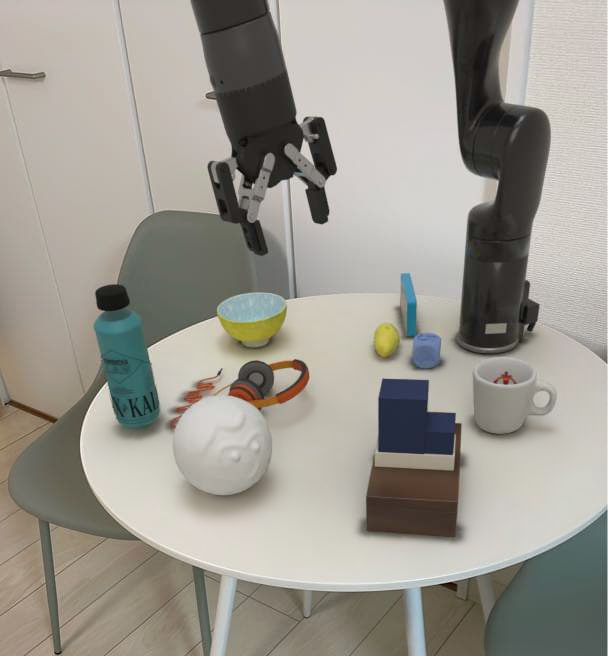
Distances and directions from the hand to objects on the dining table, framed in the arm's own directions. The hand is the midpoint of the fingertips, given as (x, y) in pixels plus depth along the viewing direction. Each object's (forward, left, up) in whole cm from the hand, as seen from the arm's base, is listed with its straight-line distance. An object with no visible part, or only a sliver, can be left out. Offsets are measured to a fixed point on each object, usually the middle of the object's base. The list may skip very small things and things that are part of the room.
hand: (291, 237), depth 84 cm
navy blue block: (-6, +17, -22) cm, 28 cm away
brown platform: (-7, +17, -27) cm, 32 cm away
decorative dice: (-25, -10, -27) cm, 38 cm away
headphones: (+4, -13, -27) cm, 30 cm away
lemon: (-22, -17, -27) cm, 39 cm away
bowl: (-5, -31, -27) cm, 41 cm away
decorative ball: (+13, +5, -27) cm, 30 cm away
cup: (-25, +11, -27) cm, 38 cm away
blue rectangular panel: (-30, -24, -27) cm, 47 cm away
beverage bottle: (+19, -15, -27) cm, 36 cm away
